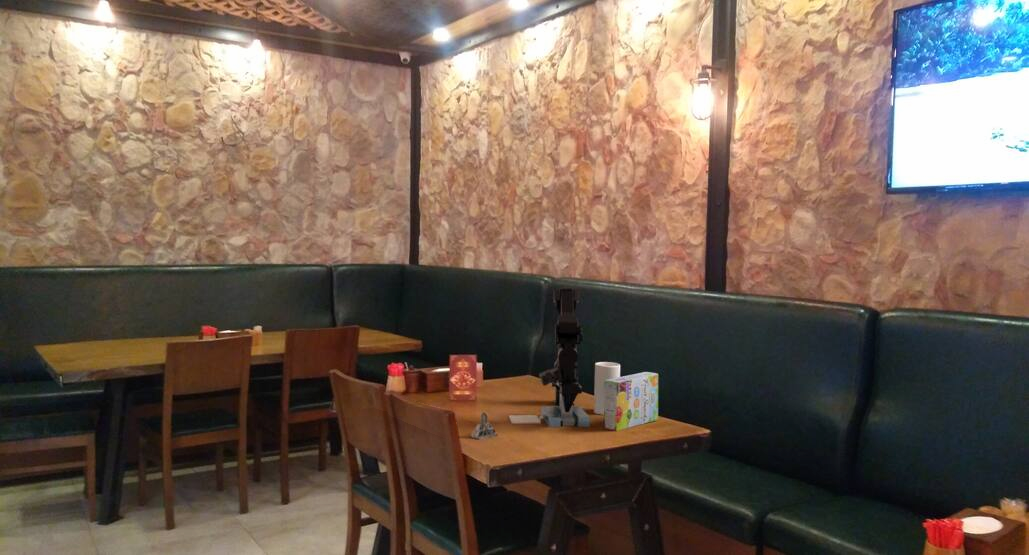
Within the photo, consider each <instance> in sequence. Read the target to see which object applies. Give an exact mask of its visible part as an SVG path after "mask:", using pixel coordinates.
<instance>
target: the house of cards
mask: <svg viewBox="0 0 1029 555" xmlns="http://www.w3.org/2000/svg"><path fill="white" fill-rule="evenodd" d="M488 418H489V417H488V414H487V413H486V411H483V412H481V415H480V423H477V424H476V427H475V429H473V430H472V432H471V434H470V438H473V439H476V440H483V439H488V438H493V437H498V433H497V431H496V429H495V428H494V427H492V424H491V423H490V422H488Z"/></svg>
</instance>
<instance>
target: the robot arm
mask: <svg viewBox="0 0 1029 555" xmlns="http://www.w3.org/2000/svg"><path fill="white" fill-rule="evenodd" d="M579 297H580V291H579V290H577V289H575V288H573V287H560V288H557V289H554V290H553V303H555V309H556V311H557V312H558V314H559V316H558V317H557V323H555V326H554V327H555V331H554V333H555V334H554V336H555V338H554V339H555V340H554V342H555V344H556V345H557V358H556V361H554V366H553V367H554V368H550V369H548V370H545V371H542V372H540V373H539V374H538V376H539V378H540V381H541V384H542V386H549V384H551V387H552V388H553V387H554V388H555V395H554V396H555V399H554V400H552V403H553V404H554V406H560V393H561V394H562V395H563V400H564V407H565V412H569V411H570V409H571V407H572V405H573V406H575V403H574V402H575V400H576V398H577V396H578V394H579V395H580V394H583V386H582V385H581V384H580V383H579V377H580V376H579V372H578V370H577V369H578V368H579V366H578V364H577V362H578V360H579V359H578V358H579V354H578V350H577V349H578V348H577V345H581V342H583V328H582V326H581V324H580V323H579V318H578V317H577V316H576V315H575V313H574V312H575V311H576V309H577V304H578V303H579V301H580V298H579Z"/></svg>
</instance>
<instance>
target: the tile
mask: <svg viewBox="0 0 1029 555" xmlns="http://www.w3.org/2000/svg"><path fill="white" fill-rule="evenodd" d="M508 418H509V420H510V422H511V424H542V422H541V421H542V420H539V416H538V415H537V414H536V415H535V414H533V415H532V414H530V415H529V414H523V415H522V414H520V415H519V414H516V415H512V414H511V415H508Z"/></svg>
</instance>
